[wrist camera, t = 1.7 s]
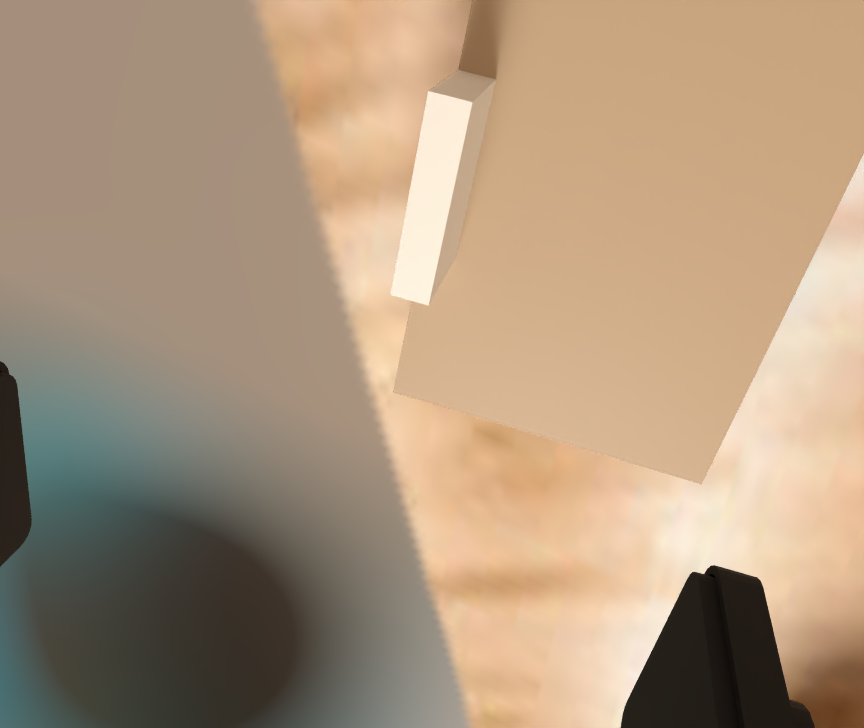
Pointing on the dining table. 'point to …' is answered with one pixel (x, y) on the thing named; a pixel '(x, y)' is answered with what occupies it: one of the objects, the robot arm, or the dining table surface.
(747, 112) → the lid
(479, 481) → the dining table surface
